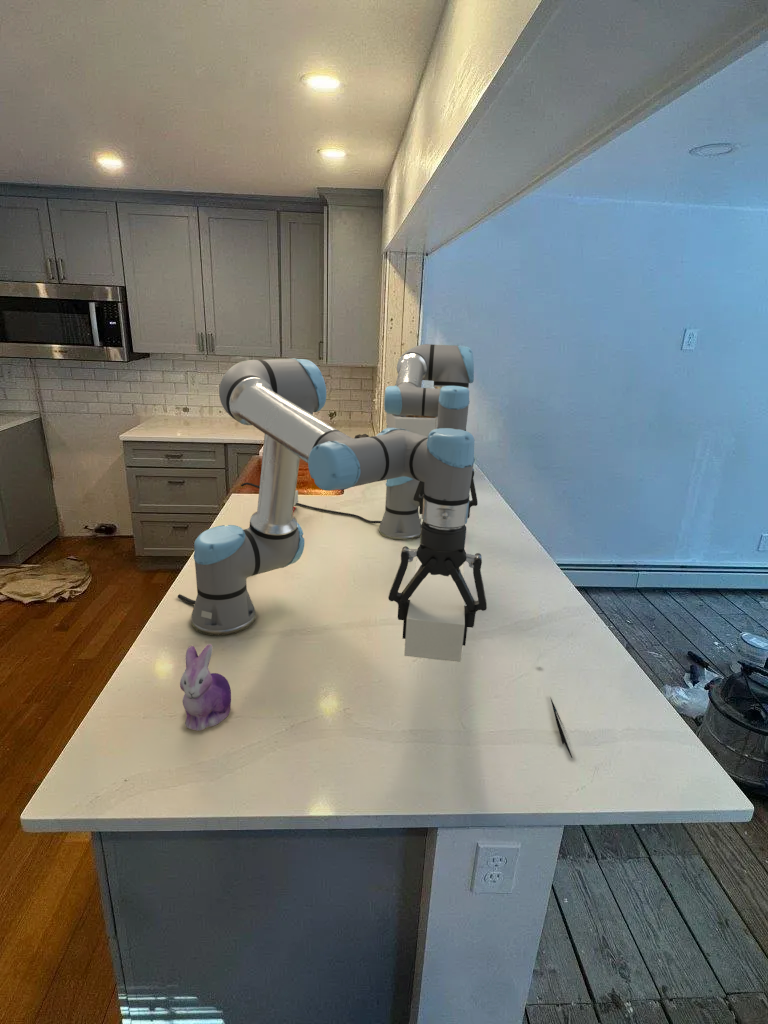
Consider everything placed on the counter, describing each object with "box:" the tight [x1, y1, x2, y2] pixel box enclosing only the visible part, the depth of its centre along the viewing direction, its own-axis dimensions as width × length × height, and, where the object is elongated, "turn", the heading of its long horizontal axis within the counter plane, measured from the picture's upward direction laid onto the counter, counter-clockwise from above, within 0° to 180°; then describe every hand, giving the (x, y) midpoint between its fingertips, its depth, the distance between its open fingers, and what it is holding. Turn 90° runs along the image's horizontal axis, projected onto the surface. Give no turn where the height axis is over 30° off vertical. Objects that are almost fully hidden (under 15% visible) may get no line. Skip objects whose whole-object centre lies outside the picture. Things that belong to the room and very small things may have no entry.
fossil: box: [353, 433, 370, 438], centre depth 306 cm, size 22×10×15 cm
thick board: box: [403, 556, 466, 663], centre depth 127 cm, size 67×10×7 cm, turn 173°
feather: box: [539, 666, 573, 758], centre depth 114 cm, size 2×28×2 cm
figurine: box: [179, 643, 232, 732], centre depth 106 cm, size 9×10×15 cm
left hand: (434, 638), depth 102 cm, fingers closed on thick board, 10 cm apart
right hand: (443, 526), depth 155 cm, fingers closed on thick board, 10 cm apart
